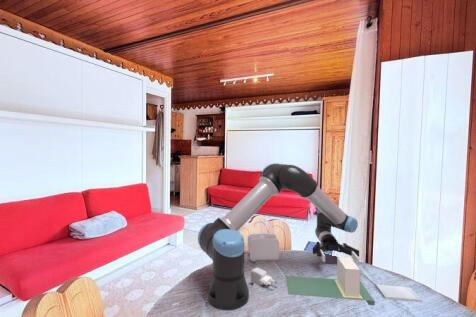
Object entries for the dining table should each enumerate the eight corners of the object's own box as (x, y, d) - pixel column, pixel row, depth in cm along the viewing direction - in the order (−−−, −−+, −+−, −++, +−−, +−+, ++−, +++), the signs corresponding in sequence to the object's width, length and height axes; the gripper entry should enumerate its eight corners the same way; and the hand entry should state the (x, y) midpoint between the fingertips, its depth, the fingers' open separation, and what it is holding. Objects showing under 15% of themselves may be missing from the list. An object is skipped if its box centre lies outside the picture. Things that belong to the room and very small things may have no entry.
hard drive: (384, 296, 87) (422, 299, 85) (375, 283, 95) (409, 286, 93) (384, 300, 87) (421, 303, 85) (375, 287, 95) (408, 290, 93)
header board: (288, 298, 87) (288, 283, 87) (285, 279, 100) (285, 266, 100) (374, 305, 83) (374, 289, 83) (360, 284, 96) (360, 271, 96)
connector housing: (345, 295, 86) (345, 268, 86) (336, 280, 96) (337, 256, 95) (359, 296, 85) (360, 269, 85) (349, 281, 95) (350, 257, 95)
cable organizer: (248, 262, 114) (248, 239, 114) (247, 253, 125) (247, 231, 125) (279, 263, 115) (279, 239, 114) (275, 253, 125) (275, 232, 125)
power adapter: (279, 290, 92) (279, 275, 92) (271, 295, 88) (271, 280, 88) (257, 279, 100) (257, 265, 99) (249, 284, 96) (249, 269, 96)
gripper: (353, 249, 119) (372, 270, 98) (303, 246, 122) (310, 266, 101) (354, 235, 119) (372, 252, 97) (303, 232, 122) (310, 249, 101)
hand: (340, 259), depth 99 cm, fingers open, 13 cm apart
